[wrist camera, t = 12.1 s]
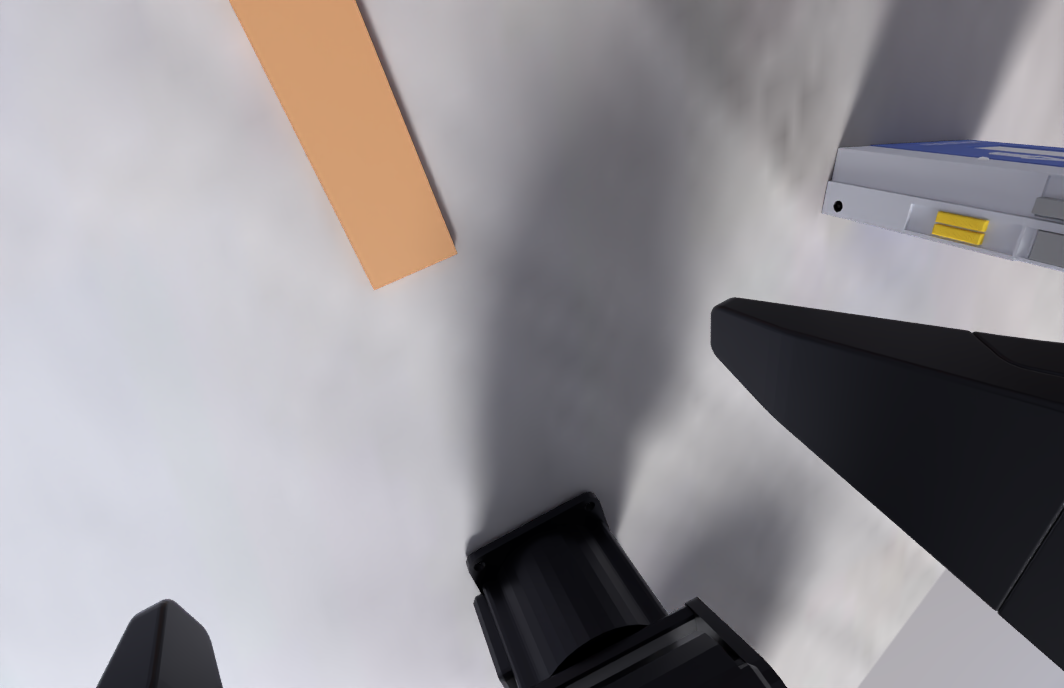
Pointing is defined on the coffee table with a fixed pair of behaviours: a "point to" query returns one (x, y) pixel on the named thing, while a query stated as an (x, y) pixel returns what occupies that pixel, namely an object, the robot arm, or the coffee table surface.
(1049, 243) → the walkman
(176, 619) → the robot arm
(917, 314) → the coffee table surface
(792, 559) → the coffee table surface
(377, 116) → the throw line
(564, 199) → the coffee table surface
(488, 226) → the coffee table surface
